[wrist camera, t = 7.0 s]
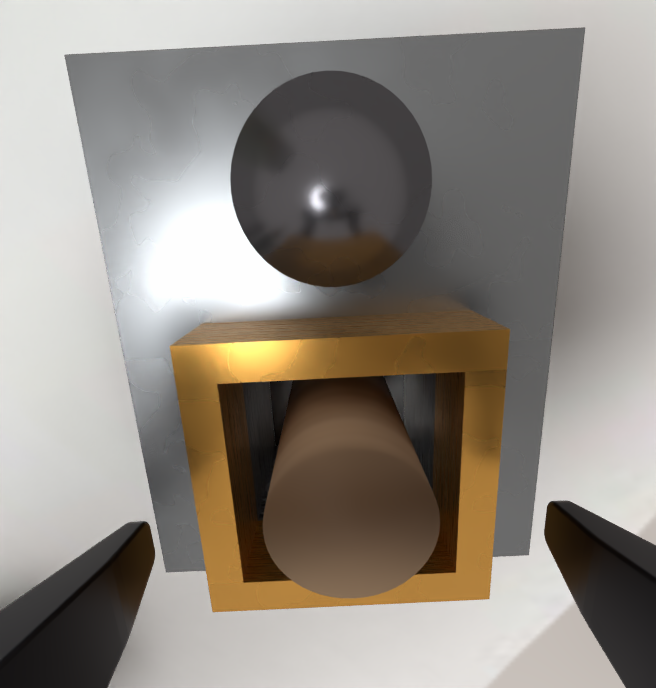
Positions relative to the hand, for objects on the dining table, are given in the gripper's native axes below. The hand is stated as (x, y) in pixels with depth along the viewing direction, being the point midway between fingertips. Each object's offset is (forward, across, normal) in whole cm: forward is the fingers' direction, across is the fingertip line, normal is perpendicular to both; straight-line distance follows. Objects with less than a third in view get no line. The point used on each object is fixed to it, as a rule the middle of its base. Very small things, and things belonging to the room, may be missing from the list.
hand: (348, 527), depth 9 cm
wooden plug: (+9, 0, 0) cm, 9 cm away
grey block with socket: (+9, 0, -3) cm, 9 cm away
